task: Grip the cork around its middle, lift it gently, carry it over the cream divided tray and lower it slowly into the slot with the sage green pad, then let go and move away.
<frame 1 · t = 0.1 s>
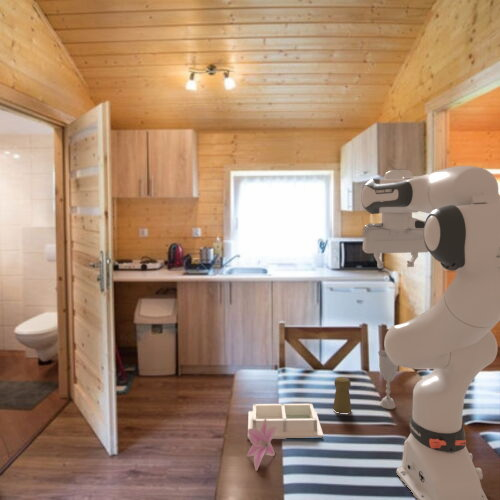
hand: (395, 267, 125), 48 cm above the table, tool pointing down, fingers open, 8 cm apart
cork: (342, 410, 131), on the table
cream divided tray: (283, 425, 122), on the table
chalice: (387, 405, 134), on the table
lily: (262, 459, 107), on the table
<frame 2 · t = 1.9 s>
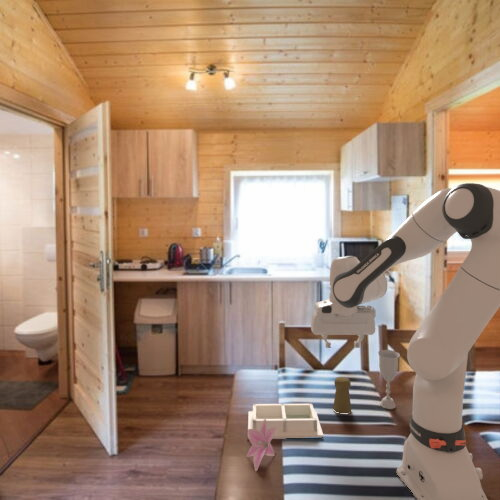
hand: (342, 347, 129), 21 cm above the table, tool pointing down, fingers open, 8 cm apart
nothing on the table moved.
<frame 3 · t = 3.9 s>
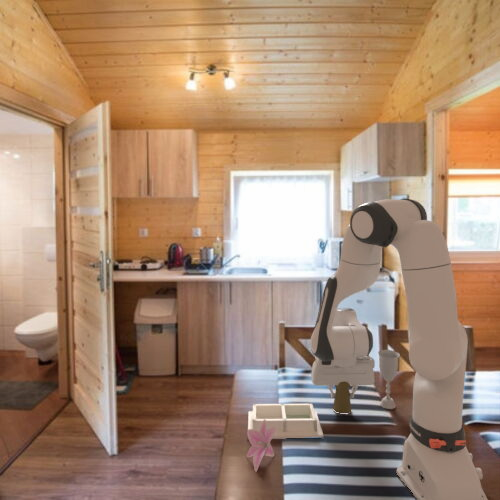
hand: (342, 396, 131), 5 cm above the table, tool pointing down, fingers closed on cork, 4 cm apart
cork: (342, 410, 131), on the table, touching gripper
everything else where it was.
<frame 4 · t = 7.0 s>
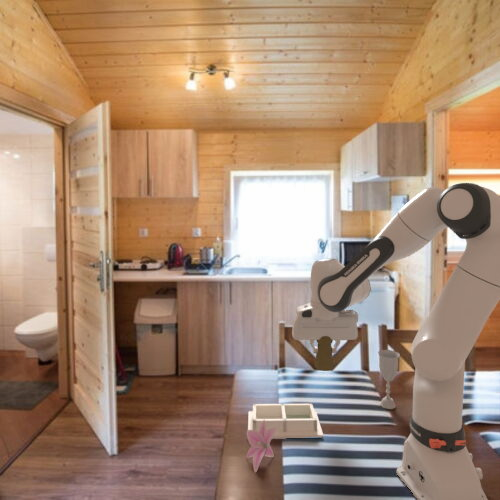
hand: (324, 352, 125), 21 cm above the table, tool pointing down, fingers closed on cork, 4 cm apart
cork: (324, 367, 126), point 16 cm above the table, touching gripper
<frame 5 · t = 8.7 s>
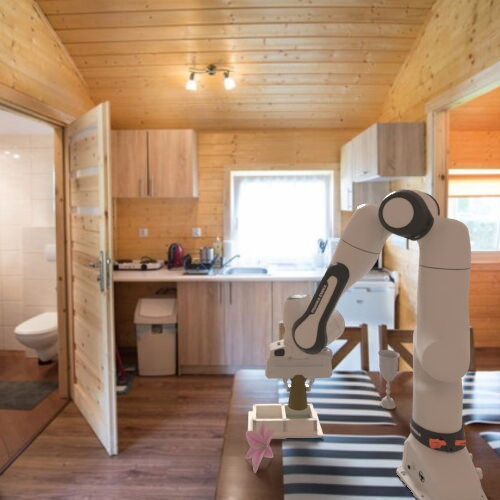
hand: (298, 391, 121), 11 cm above the table, tool pointing down, fingers closed on cork, 4 cm apart
cork: (297, 406, 122), point 6 cm above the table, touching gripper
when the fingers open (7 cm above the table, at t = 10.0 s): cork moves 1 cm, resting on cream divided tray.
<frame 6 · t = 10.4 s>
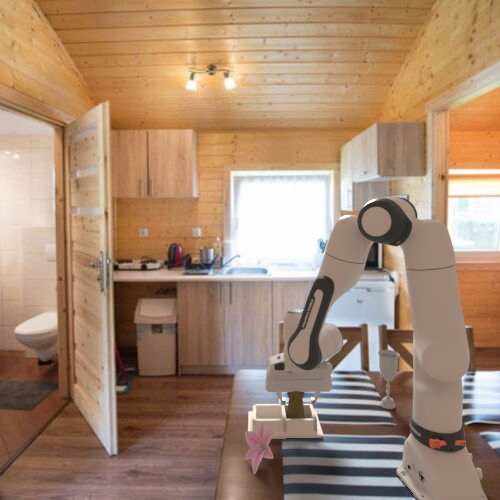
hand: (298, 404, 122), 7 cm above the table, tool pointing down, fingers open, 8 cm apart
cork: (295, 422, 122), point 1 cm above the table, touching cream divided tray
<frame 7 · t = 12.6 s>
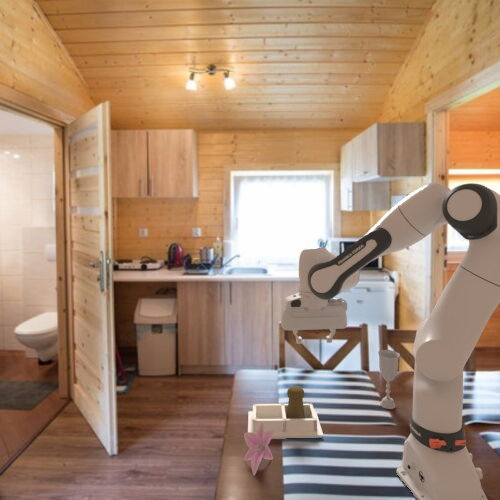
hand: (314, 342, 124), 25 cm above the table, tool pointing down, fingers open, 8 cm apart
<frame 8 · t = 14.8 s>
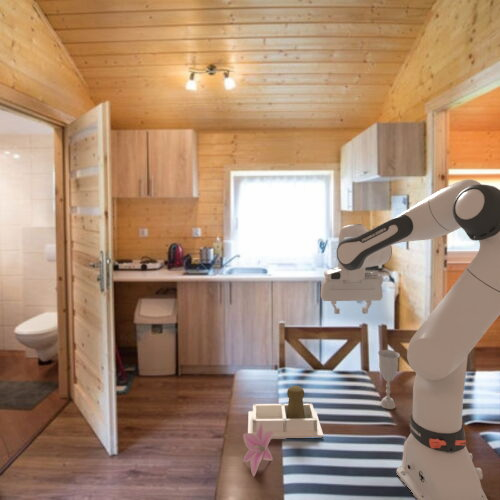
hand: (350, 313, 134), 31 cm above the table, tool pointing down, fingers open, 8 cm apart
at the end: cork 0.8 cm from the target spot on the cream divided tray, point 1.0 cm above the cream divided tray's base; cork tilted 0°; the gripper is holding nothing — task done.
